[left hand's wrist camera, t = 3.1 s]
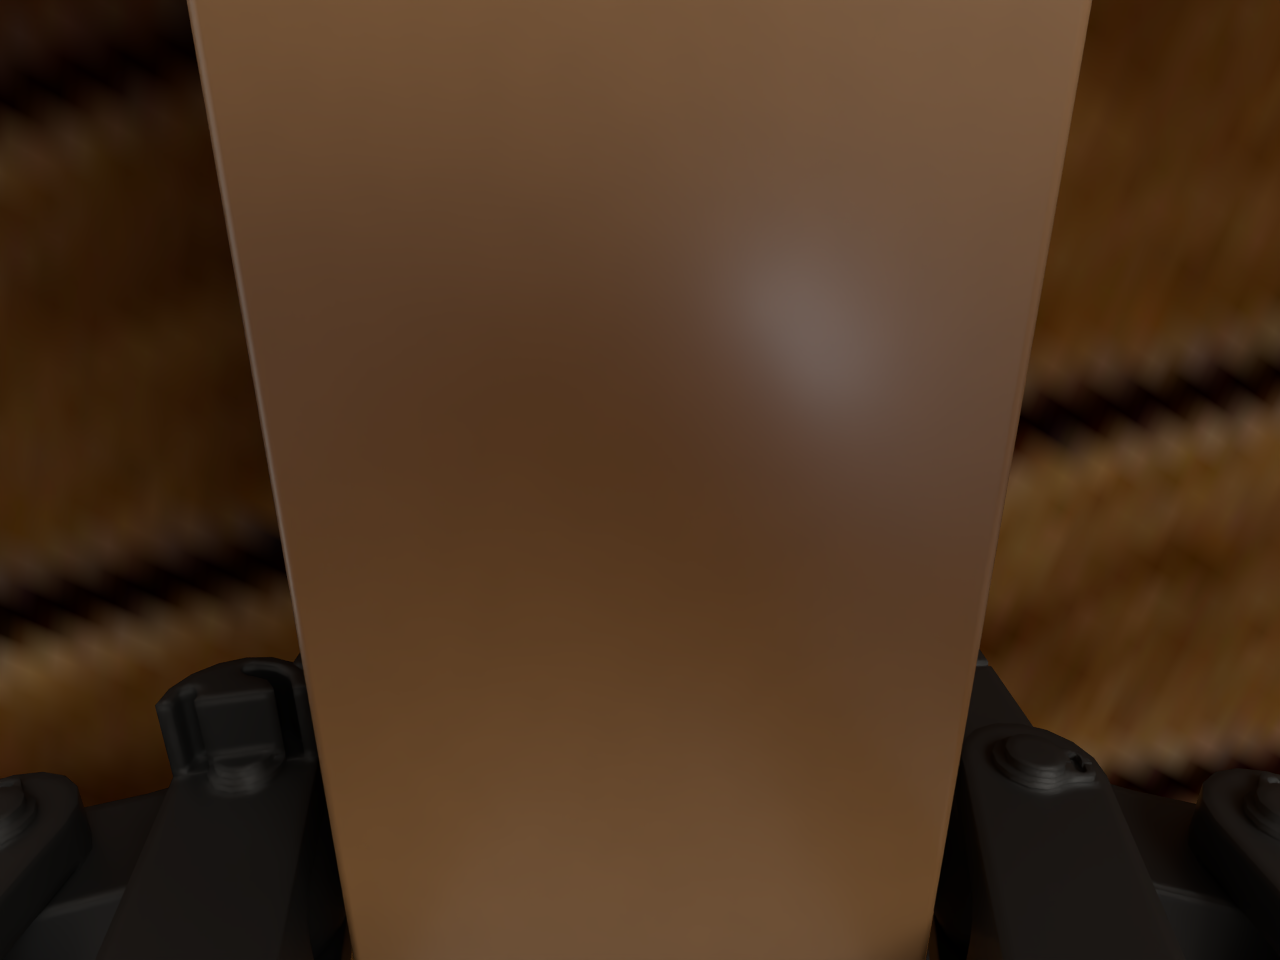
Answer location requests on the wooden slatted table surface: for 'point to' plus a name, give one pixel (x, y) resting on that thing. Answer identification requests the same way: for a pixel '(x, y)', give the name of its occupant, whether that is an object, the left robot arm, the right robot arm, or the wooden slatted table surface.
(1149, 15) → the wooden slatted table surface
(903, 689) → the bar
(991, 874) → the left robot arm
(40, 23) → the wooden slatted table surface
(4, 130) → the wooden slatted table surface
